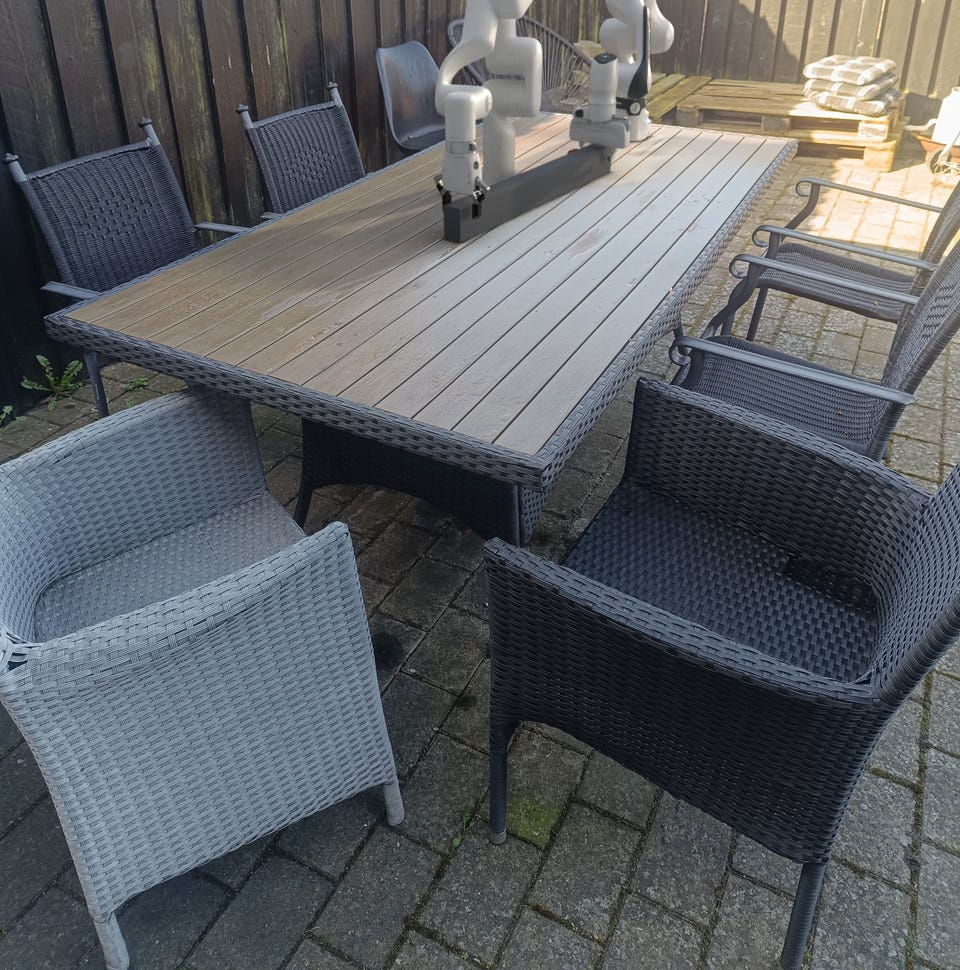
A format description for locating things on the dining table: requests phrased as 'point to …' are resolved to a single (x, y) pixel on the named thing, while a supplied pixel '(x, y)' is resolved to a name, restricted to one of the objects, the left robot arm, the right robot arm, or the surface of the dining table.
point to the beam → (525, 192)
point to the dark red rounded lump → (572, 150)
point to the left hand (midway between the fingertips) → (461, 214)
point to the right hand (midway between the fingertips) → (597, 158)
